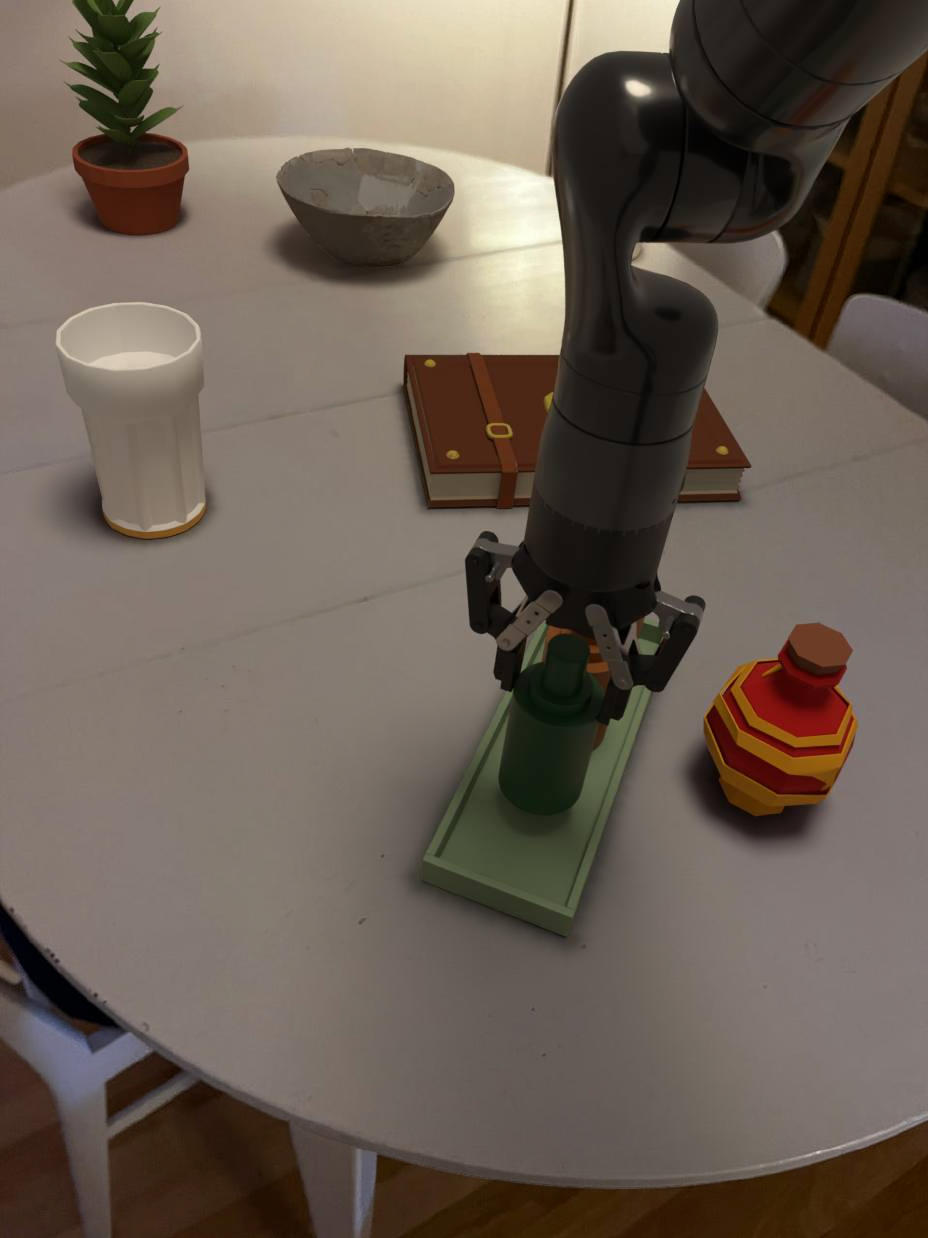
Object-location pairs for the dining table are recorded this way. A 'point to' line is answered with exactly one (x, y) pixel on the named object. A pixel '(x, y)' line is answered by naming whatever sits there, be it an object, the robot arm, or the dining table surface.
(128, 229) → the potted plant
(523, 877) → the tray
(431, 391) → the book
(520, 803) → the green bottle
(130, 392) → the cup
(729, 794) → the potion bottle
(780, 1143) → the dining table surface
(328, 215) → the ceramic bowl
